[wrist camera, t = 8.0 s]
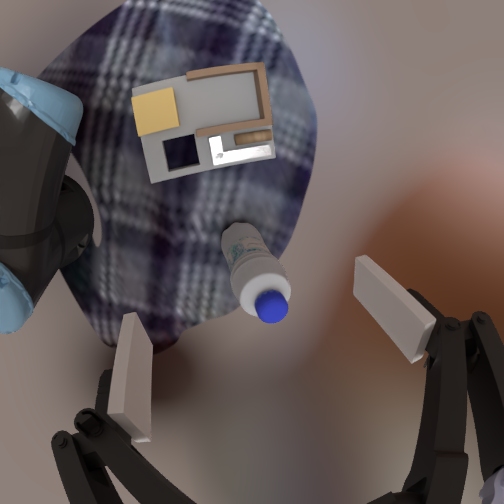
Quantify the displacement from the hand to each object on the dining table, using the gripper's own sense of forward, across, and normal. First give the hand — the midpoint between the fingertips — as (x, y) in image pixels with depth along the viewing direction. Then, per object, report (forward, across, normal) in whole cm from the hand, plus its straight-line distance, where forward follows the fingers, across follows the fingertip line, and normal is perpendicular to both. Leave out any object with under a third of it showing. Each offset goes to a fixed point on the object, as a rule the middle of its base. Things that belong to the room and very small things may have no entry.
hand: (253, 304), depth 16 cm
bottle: (+29, +3, -9) cm, 31 cm away
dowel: (+27, +7, +6) cm, 28 cm away
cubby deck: (+29, +1, +10) cm, 30 cm away
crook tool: (+27, +5, +6) cm, 28 cm away
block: (+27, -5, +12) cm, 30 cm away
